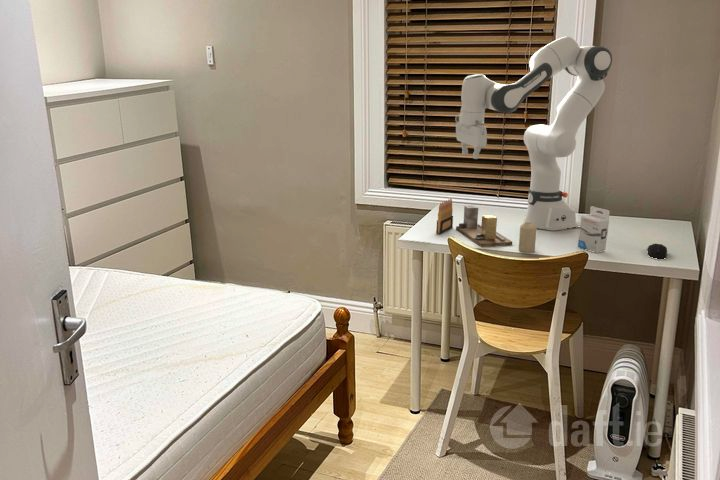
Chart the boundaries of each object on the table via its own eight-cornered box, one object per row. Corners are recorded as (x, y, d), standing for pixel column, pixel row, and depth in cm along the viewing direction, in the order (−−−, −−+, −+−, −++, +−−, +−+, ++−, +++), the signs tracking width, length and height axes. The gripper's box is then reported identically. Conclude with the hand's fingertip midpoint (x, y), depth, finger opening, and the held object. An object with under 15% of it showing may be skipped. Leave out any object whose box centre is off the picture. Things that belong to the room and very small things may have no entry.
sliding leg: (490, 236, 252) (492, 215, 249) (495, 239, 248) (497, 217, 246) (474, 237, 250) (475, 215, 248) (478, 240, 246) (480, 218, 244)
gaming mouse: (647, 262, 230) (648, 250, 229) (646, 249, 244) (648, 239, 242) (667, 264, 228) (669, 253, 227) (666, 252, 241) (667, 241, 240)
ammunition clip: (440, 234, 259) (441, 203, 256) (436, 233, 260) (437, 202, 256) (452, 228, 268) (454, 198, 264) (448, 227, 269) (449, 197, 265)
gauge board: (484, 227, 269) (486, 204, 266) (512, 244, 246) (514, 220, 244) (455, 229, 266) (457, 206, 263) (481, 247, 244) (482, 222, 241)
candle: (524, 253, 237) (527, 225, 234) (515, 249, 242) (517, 221, 239) (537, 251, 239) (540, 223, 236) (528, 247, 244) (530, 220, 241)
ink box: (576, 247, 244) (581, 207, 240) (586, 245, 247) (590, 205, 243) (596, 253, 237) (601, 212, 233) (605, 251, 240) (610, 210, 236)
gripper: (492, 122, 246) (490, 160, 250) (468, 116, 264) (467, 151, 268) (476, 122, 244) (474, 161, 248) (453, 116, 263) (452, 152, 267)
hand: (470, 156), depth 258 cm, fingers open, 8 cm apart
